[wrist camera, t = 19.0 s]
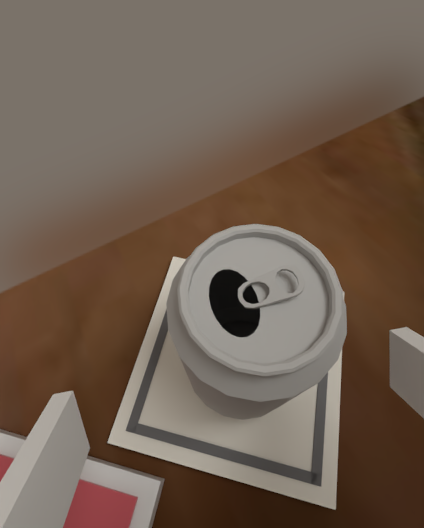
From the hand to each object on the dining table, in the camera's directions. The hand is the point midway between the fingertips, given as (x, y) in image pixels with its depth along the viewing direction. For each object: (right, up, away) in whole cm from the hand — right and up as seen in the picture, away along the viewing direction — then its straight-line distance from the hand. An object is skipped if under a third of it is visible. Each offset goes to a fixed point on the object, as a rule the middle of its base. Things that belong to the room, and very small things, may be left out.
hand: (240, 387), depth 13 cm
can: (+1, -2, +9) cm, 10 cm away
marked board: (+1, -2, +10) cm, 10 cm away
